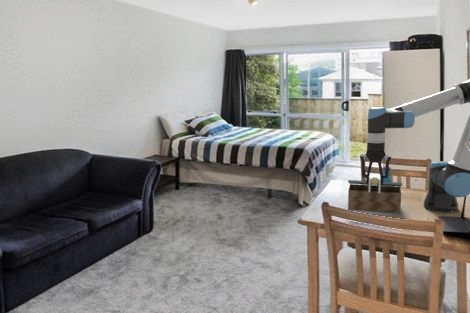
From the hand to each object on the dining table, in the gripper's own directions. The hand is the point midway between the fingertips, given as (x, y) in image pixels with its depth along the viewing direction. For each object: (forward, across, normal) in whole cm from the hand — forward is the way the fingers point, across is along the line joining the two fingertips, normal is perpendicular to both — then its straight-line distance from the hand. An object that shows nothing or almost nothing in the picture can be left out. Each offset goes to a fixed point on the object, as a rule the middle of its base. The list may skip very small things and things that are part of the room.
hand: (374, 191), depth 186 cm
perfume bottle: (+12, +6, +42) cm, 44 cm away
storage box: (+12, 0, +14) cm, 18 cm away
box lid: (0, 0, +8) cm, 9 cm away
